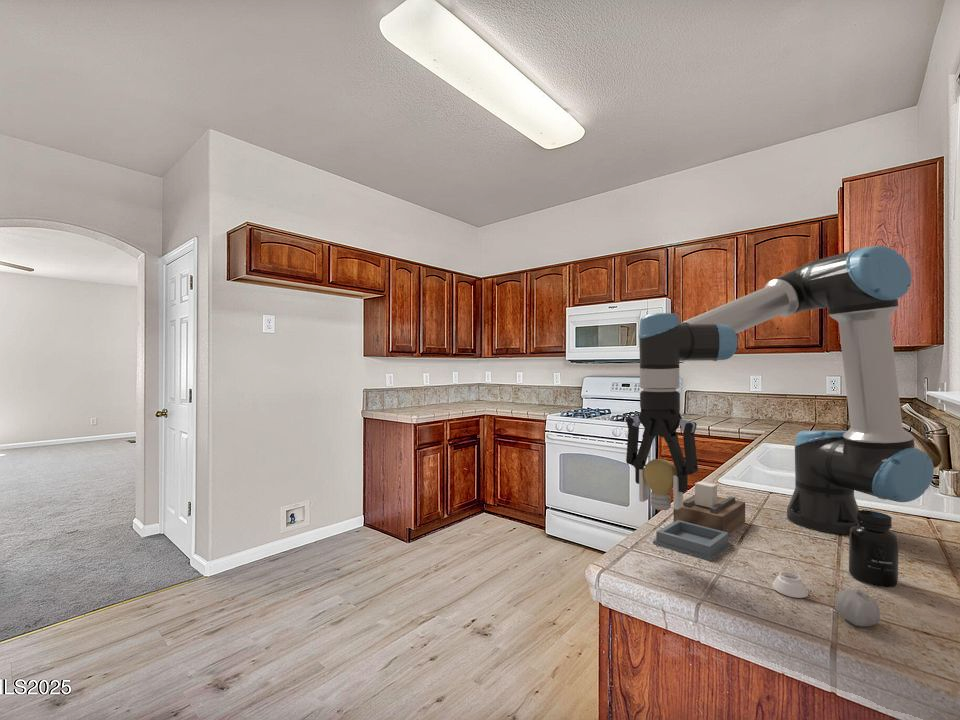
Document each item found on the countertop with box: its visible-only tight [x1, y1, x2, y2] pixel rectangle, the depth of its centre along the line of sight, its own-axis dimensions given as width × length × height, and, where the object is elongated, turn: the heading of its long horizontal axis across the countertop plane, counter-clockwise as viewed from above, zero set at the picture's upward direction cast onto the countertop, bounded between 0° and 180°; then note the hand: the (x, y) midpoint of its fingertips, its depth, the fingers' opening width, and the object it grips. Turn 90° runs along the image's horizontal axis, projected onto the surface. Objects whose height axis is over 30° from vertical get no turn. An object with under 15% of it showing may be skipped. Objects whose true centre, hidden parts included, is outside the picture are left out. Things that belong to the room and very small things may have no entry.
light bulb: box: [644, 458, 677, 511], centre depth 91 cm, size 6×6×10 cm
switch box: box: [673, 494, 746, 535], centre depth 110 cm, size 11×16×6 cm
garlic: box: [834, 588, 881, 628], centre depth 69 cm, size 6×5×5 cm
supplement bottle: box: [848, 509, 900, 588], centre depth 82 cm, size 7×7×12 cm
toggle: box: [694, 481, 718, 508], centre depth 108 cm, size 4×3×5 cm
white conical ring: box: [771, 571, 809, 599], centre depth 78 cm, size 5×3×5 cm
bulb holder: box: [652, 520, 733, 562], centre depth 98 cm, size 12×12×3 cm
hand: (660, 503), depth 91 cm, fingers closed on light bulb, 6 cm apart
